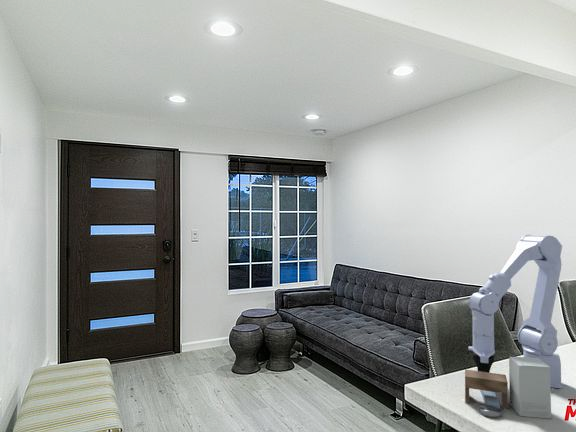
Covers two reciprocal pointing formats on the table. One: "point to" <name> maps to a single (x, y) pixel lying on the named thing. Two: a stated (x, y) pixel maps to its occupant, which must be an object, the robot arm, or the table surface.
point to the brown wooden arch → (486, 384)
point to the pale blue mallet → (490, 398)
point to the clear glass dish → (490, 411)
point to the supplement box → (530, 387)
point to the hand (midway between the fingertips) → (483, 379)
